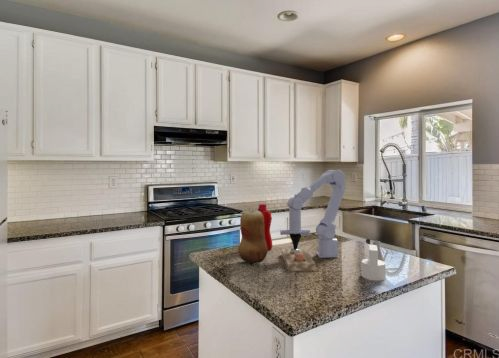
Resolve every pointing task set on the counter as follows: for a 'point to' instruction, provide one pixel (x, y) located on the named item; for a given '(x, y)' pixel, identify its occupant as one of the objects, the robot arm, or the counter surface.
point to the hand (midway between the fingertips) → (295, 248)
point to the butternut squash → (252, 237)
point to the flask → (379, 250)
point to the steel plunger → (294, 250)
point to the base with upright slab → (373, 265)
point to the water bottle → (266, 224)
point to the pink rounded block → (299, 257)
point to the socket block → (298, 265)
